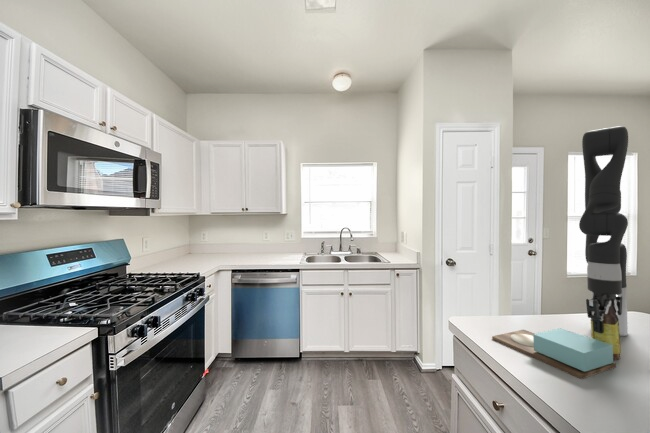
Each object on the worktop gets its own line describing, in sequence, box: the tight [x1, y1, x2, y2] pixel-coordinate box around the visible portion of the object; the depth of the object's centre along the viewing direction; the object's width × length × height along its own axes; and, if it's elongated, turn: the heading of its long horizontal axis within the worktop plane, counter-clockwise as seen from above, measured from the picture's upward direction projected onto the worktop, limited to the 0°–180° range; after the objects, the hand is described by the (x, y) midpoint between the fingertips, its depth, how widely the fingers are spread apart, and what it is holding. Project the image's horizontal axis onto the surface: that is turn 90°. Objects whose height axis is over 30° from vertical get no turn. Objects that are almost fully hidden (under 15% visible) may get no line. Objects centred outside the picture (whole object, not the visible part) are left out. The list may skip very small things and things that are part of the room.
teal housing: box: [533, 327, 614, 372], centre depth 82 cm, size 13×13×5 cm
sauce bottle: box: [590, 294, 622, 360], centre depth 85 cm, size 6×6×20 cm
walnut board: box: [491, 329, 617, 379], centre depth 88 cm, size 16×26×1 cm, turn 20°
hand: (605, 330), depth 85 cm, fingers closed on sauce bottle, 6 cm apart
